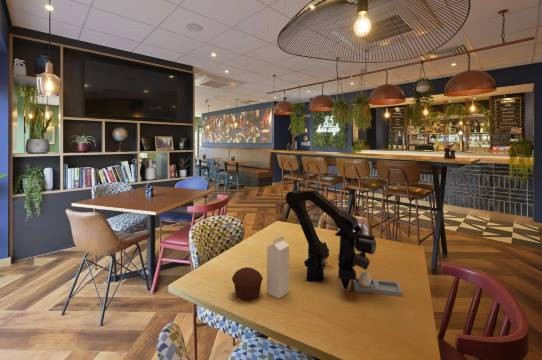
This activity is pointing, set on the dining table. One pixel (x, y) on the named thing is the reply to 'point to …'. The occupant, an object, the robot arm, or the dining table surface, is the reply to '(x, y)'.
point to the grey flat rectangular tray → (379, 287)
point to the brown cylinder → (347, 287)
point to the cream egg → (365, 280)
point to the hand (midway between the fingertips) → (345, 285)
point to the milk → (278, 268)
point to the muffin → (247, 283)
